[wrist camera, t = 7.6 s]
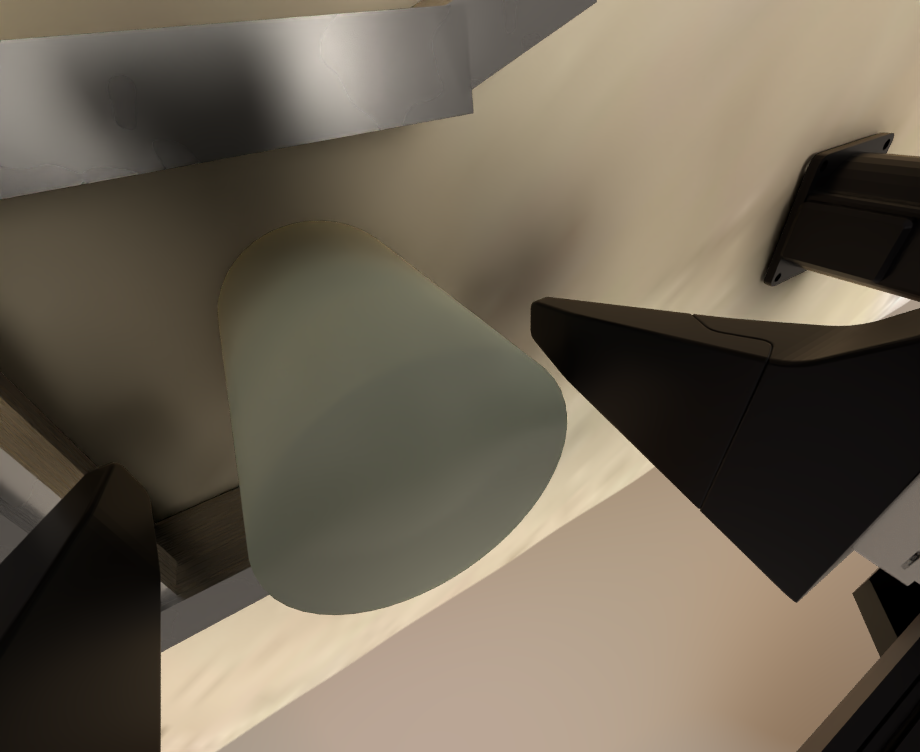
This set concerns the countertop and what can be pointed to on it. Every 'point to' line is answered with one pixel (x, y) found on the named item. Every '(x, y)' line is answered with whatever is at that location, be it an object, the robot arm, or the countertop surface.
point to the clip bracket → (207, 139)
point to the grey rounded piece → (373, 421)
